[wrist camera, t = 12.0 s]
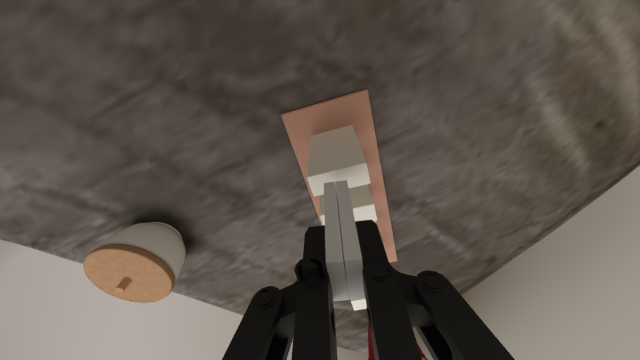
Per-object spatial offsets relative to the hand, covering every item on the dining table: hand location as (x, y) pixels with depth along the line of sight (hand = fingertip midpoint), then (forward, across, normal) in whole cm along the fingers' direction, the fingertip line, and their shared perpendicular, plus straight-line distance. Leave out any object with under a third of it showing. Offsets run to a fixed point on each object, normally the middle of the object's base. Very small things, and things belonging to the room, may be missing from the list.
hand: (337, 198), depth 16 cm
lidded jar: (+15, -28, -13) cm, 35 cm away
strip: (+14, +2, -10) cm, 18 cm away
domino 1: (+14, 0, -1) cm, 14 cm away
